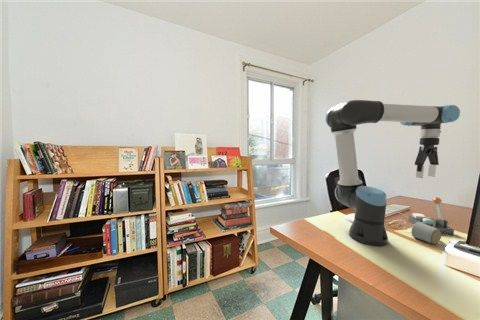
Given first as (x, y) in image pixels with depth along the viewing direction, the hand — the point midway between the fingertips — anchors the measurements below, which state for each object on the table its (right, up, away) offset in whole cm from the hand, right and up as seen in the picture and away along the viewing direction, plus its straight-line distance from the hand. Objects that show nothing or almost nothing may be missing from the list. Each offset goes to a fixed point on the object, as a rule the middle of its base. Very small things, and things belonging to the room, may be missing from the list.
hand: (425, 177), depth 106 cm
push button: (-2, -24, -4) cm, 24 cm away
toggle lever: (+3, -23, -6) cm, 24 cm away
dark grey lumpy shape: (+1, -27, 0) cm, 27 cm away
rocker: (0, -22, +4) cm, 23 cm away
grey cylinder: (-14, -28, -15) cm, 35 cm away
